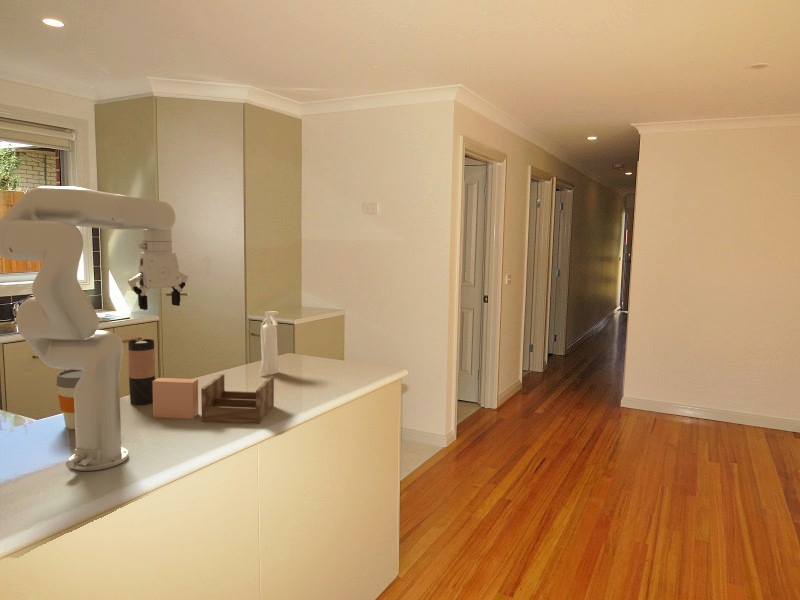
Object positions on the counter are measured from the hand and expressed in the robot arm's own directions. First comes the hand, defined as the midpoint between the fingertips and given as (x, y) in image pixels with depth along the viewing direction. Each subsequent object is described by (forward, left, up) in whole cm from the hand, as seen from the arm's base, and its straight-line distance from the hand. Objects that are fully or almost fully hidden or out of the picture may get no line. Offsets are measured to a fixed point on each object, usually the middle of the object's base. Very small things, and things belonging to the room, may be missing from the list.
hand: (160, 307), depth 157 cm
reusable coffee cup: (-5, +20, -34) cm, 39 cm away
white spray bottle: (+59, -16, -34) cm, 69 cm away
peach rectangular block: (+5, -2, -34) cm, 34 cm away
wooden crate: (+9, -20, -33) cm, 40 cm away
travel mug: (+17, +14, -34) cm, 40 cm away
